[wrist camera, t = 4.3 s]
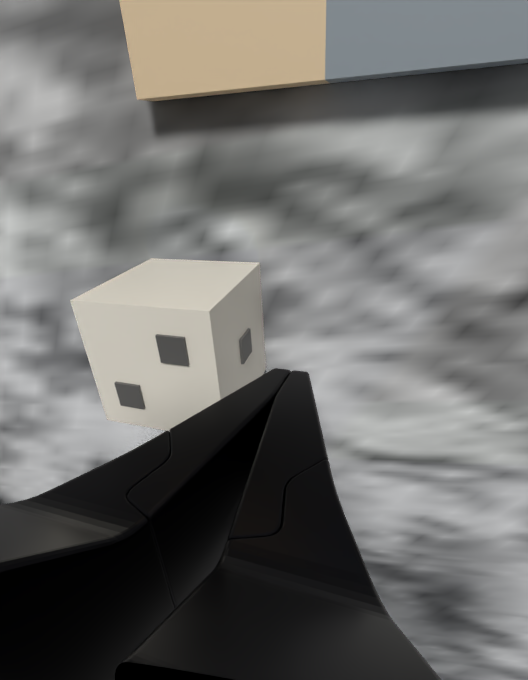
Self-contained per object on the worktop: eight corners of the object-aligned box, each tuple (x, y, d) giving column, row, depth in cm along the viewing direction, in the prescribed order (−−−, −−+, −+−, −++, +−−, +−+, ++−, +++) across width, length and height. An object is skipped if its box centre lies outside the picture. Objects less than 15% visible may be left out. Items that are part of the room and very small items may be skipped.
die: (263, 262, 12) (210, 312, 9) (268, 367, 14) (227, 443, 11) (152, 258, 13) (67, 301, 10) (171, 356, 15) (105, 421, 12)
